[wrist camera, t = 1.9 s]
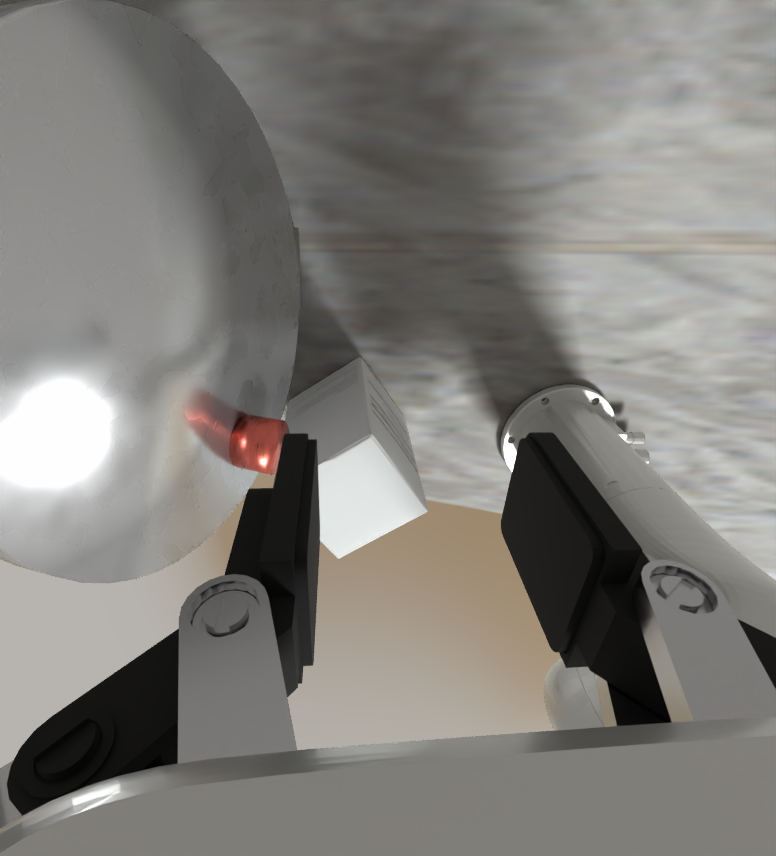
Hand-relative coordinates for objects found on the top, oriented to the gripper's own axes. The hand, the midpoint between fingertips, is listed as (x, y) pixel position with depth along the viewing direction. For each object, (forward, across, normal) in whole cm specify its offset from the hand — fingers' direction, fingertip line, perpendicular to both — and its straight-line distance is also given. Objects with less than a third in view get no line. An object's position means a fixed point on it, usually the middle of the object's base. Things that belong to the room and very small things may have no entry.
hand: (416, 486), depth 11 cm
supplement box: (+34, +1, +16) cm, 37 cm away
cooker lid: (+10, +10, 0) cm, 14 cm away
